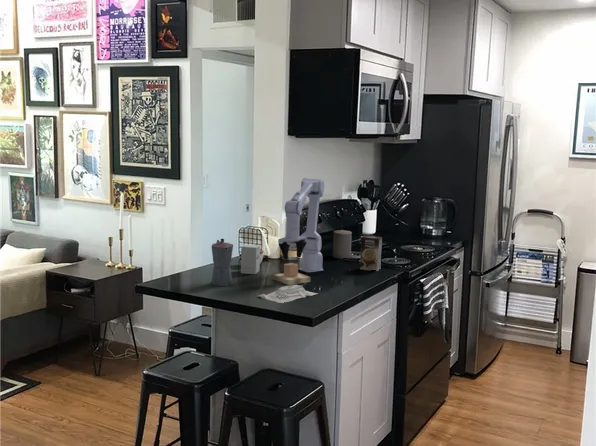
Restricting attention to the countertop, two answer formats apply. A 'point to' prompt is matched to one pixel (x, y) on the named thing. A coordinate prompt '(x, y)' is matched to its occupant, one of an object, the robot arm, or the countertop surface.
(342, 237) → the pillar candle
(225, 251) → the moka pot
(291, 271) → the block
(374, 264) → the coffee box
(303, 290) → the terrain model
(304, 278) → the base
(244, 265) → the supplement box
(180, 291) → the countertop surface
